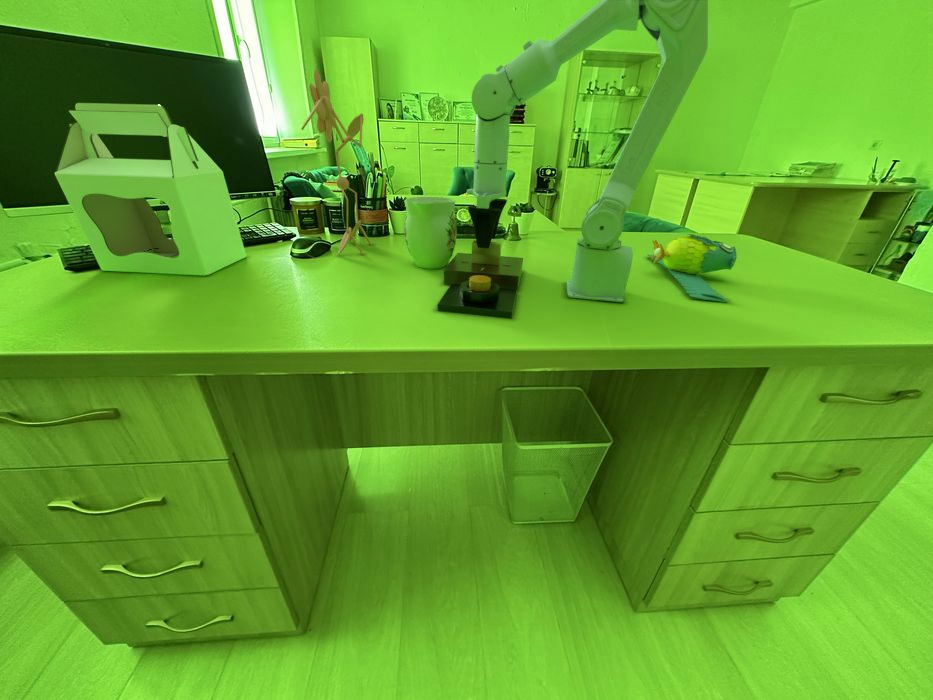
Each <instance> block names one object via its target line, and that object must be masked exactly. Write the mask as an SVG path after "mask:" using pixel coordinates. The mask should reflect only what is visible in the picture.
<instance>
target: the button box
mask: <svg viewBox="0 0 933 700" xmlns="http://www.w3.org/2000/svg"><path fill="white" fill-rule="evenodd" d="M517 295H518V291H517V289H506V288H500V286H499V285H497V284H496V283H494V282H491V289H490V290H487V291H475V290H471V289H469V281H466V282H463V283H462V284H451V285H449V287H448V288H447V289H446V291H445V293H444V294H443V295H442V297H441V299H440V300H439V301H438V302H437V312H444V313H445V312H446V313H453V314H464V315H472V316H473V315H474V316H483V317H493V318H502V319H512V318H513V313H514V310H515V304H516V302H517V301H516V299H517Z"/></svg>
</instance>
